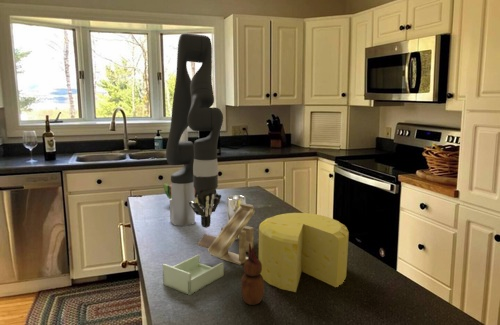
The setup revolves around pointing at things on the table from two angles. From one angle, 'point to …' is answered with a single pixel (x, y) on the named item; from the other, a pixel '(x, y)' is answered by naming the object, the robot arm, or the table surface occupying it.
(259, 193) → the table surface
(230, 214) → the beer glass
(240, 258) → the fulcrum
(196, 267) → the tray
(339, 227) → the cheese
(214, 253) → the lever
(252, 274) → the wooden figurine
